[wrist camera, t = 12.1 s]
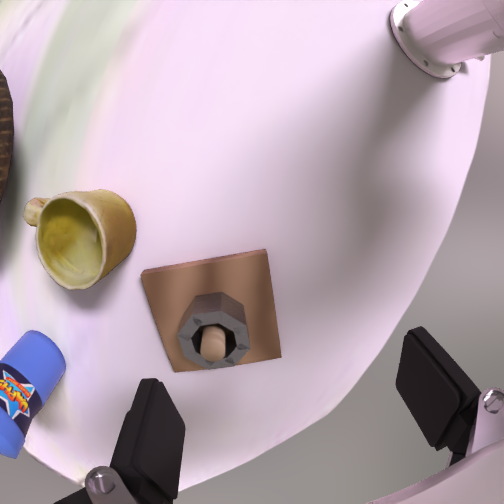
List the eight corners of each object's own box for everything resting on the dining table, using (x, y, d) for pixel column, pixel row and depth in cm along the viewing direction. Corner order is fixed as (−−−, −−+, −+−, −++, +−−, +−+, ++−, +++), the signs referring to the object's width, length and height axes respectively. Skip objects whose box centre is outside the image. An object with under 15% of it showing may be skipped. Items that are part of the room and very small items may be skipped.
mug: (168, 215, 27) (100, 254, 19) (130, 275, 32) (75, 318, 23) (97, 145, 27) (25, 160, 18) (71, 210, 31) (13, 236, 23)
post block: (265, 248, 31) (276, 273, 24) (279, 350, 35) (290, 389, 28) (144, 269, 31) (122, 298, 24) (176, 365, 35) (167, 404, 28)
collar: (240, 288, 31) (242, 307, 27) (250, 340, 33) (253, 363, 29) (178, 298, 31) (171, 317, 26) (193, 348, 33) (190, 371, 28)
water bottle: (53, 383, 35) (-4, 490, 12) (16, 344, 33) (-58, 440, 9) (75, 363, 34) (8, 490, 10) (33, 319, 32) (-59, 429, 8)
